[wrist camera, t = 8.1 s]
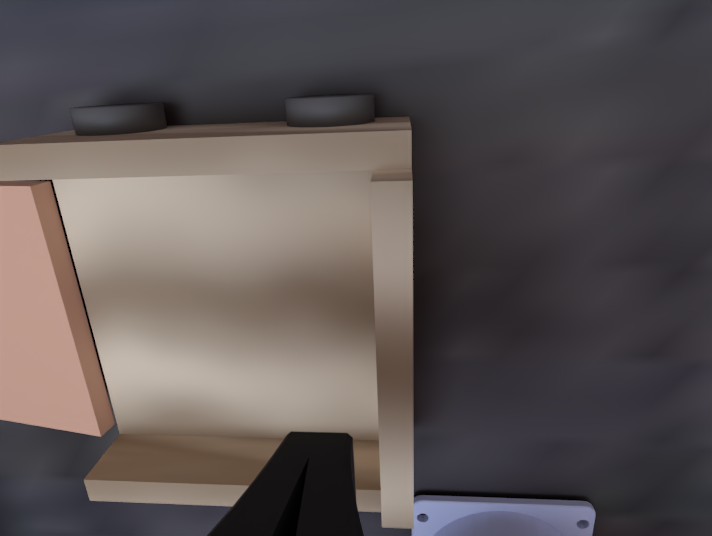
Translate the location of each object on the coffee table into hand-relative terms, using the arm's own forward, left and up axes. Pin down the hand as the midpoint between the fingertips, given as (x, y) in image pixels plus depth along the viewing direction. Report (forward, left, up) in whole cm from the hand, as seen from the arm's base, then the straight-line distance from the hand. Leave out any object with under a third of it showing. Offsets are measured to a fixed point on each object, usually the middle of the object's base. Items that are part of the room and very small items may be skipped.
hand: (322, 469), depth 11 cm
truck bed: (0, +4, -9) cm, 10 cm away
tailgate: (0, +10, -7) cm, 12 cm away
